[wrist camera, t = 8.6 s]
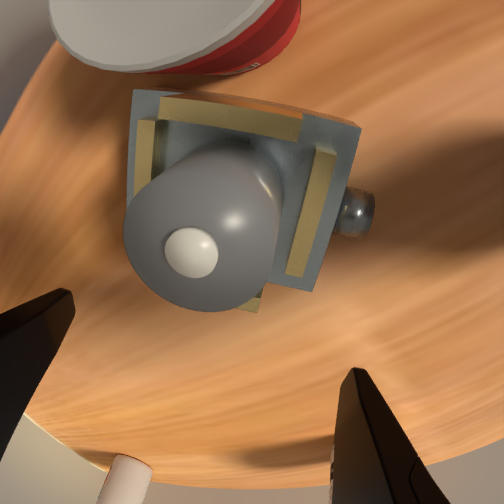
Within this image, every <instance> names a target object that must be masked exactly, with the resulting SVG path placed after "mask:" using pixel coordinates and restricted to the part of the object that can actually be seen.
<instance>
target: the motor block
mask: <svg viewBox="0 0 504 504" xmlns="http://www.w3.org/2000/svg"><path fill="white" fill-rule="evenodd" d="M361 130H362V128H360V127H359V126H358V125H356V124H355V123H354V122H352V121H348V120H345V119H341V118H337V117H334V116H330V115H326V114H322V113H318V112H314V111H310V110H305V109H301V108H297V107H292V106H287V105H283V104H278V103H273V102H268V101H262V100H257V99H251V98H245V97H239V96H233V95H226V94H219V93H212V92H204V91H196V90H187V89H177V88H165V87H148V88H139V89H133V96H132V106H131V117H130V130H129V145H128V166H127V208H128V206H129V204H130V202H131V201H132V199H133V198H134V196H135V195H136V194H137V193H138V192H139V191H140V190H141V189H142V188H143V187H144V186H145V185H146V184H148V183H149V182H150V181H152V180H153V179H154V178H156V177H157V176H158V175H160V174H161V173H162V172H164V171H165V170H167V169H168V168H169V167H171V166H172V165H173V164H175V163H176V162H178V161H179V160H180V159H182V158H183V157H185V156H186V155H187V154H189V153H190V152H192V151H193V150H195V149H196V148H198V147H199V146H201V145H204V144H206V143H209V142H212V141H217V140H234V141H239V142H243V143H246V144H248V145H251V146H253V147H254V148H256V149H258V150H259V151H261V152H262V153H263V154H265V155H266V156H267V157H268V158H269V159H270V161H271V162H272V163H273V164H274V166H275V167H276V169H277V171H278V173H279V175H280V178H281V180H282V184H283V190H284V201H283V207H282V213H281V219H280V225H279V231H278V237H277V242H276V248H275V254H274V260H273V265H272V270H271V273H270V276H269V278H268V280H267V282H269V283H274V284H278V285H282V286H287V287H291V288H296V289H300V290H305V291H309V292H312V291H313V288H314V285H315V282H316V279H317V276H318V273H319V270H320V267H321V264H322V261H323V258H324V255H325V252H326V249H327V246H328V243H329V240H330V237H331V234H332V233H336V234H340V235H344V236H348V237H352V238H356V239H360V240H362V239H364V238H365V236H366V235H367V233H368V231H369V229H370V226H371V223H372V219H373V215H374V208H375V199H374V195H373V194H372V193H369V192H365V191H362V190H358V189H355V188H351V187H347V186H346V184H347V181H348V177H349V174H350V170H351V167H352V163H353V160H354V156H355V152H356V149H357V145H358V141H359V137H360V134H361ZM262 290H263V288H262V289H261V290H260V292H259V293H258V294H257V295H256V296H254V297H253V298H252V299H251V300H249V301H248V302H246V303H244V304H242V305H241V306H238V307H236V308H237V309H241V310H246V311H250V312H254V313H257V311H258V307H259V303H260V299H261V295H262Z"/></svg>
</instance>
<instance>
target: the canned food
mask: <svg viewBox="0 0 504 504" xmlns="http://www.w3.org/2000/svg"><path fill="white" fill-rule="evenodd" d="M47 5H48V6H47V7H48V15H49V19H50V23H51V27H52V30H53V31H54V33H55V35H56V37H57V39H58V41H59V43H60V44H61V45H62V46H63V47H64V48H65V49H66V50H67V51H68V52H69V53H70V54H71V55H72V56H74V57H75V58H77V59H79V60H80V61H82V62H83V63H85V64H88V65H91V66H94V67H97V68H100V69H103V70H111V71H116V72H126V73H148V74H205V75H233V74H240V73H244V72H247V71H250V70H253V69H256V68H258V67H260V66H262V65H264V64H266V63H268V62H269V61H271V60H272V59H273V58H275V57H276V56H277V55H279V54H280V53H281V52H282V51H283V49H284V48H285V47H286V46H287V45H288V44H289V43H290V41H291V39H292V38H293V36H294V34H295V33H296V30H297V27H298V24H299V21H300V14H301V0H47Z"/></svg>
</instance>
